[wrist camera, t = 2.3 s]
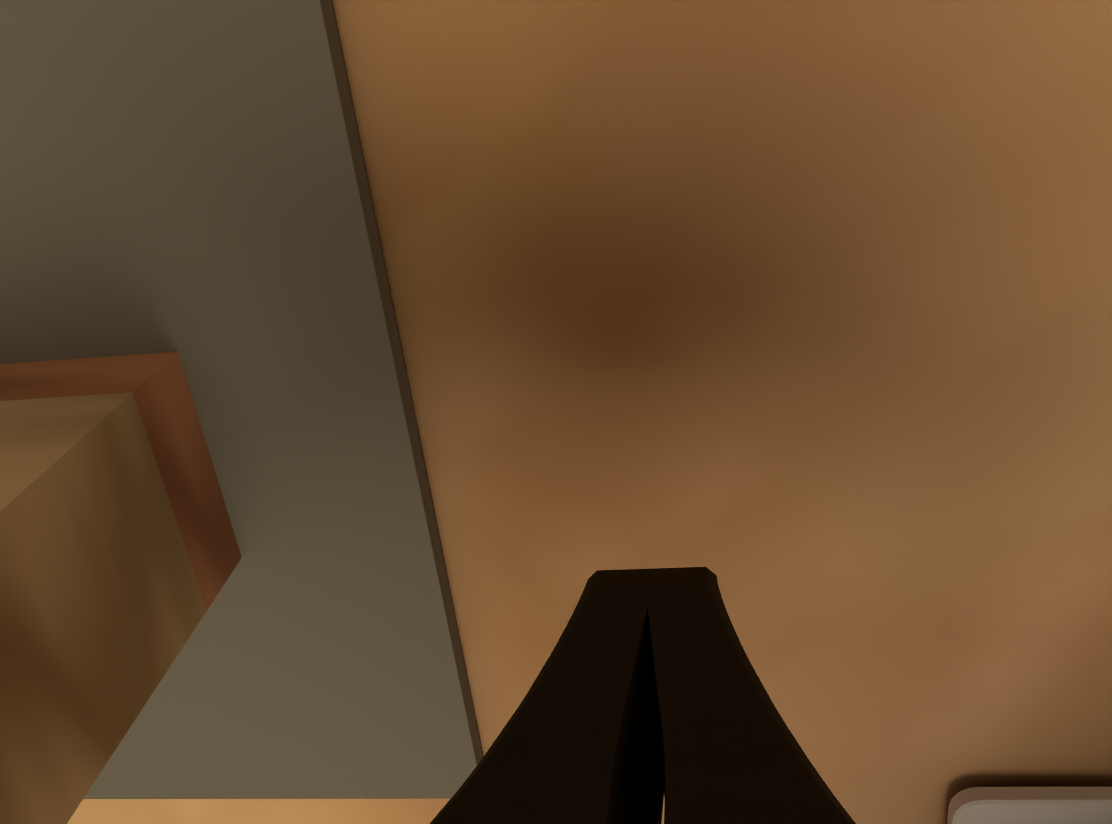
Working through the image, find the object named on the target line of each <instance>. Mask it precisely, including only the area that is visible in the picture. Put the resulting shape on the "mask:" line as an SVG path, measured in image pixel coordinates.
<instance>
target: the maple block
mask: <svg viewBox="0 0 1112 824" xmlns="http://www.w3.org/2000/svg"><path fill="white" fill-rule="evenodd" d="M241 558H242V556H241V553H240V550H239V547H238V544H237V540H236V537H235V534H234V531H233V527H232V524H231V521H230V518H229V515H228V511H227V508H226V505H225V502H224V498H223V495H222V492H221V489H220V486H219V482H218V479H217V476H216V473H215V470H214V466H213V463H212V460H211V457H210V453H209V450H208V447H207V444H206V441H205V437H204V434H203V431H202V428H201V424H200V421H199V418H198V415H197V412H196V408H195V405H194V402H193V399H192V395H191V392H190V389H189V386H188V383H187V379H186V376H185V373H184V370H183V366H182V363H181V360H180V357H179V354H178V352H167V353H153V354H138V355H124V356H110V357H96V358H82V359H67V360H53V361H39V362H25V363H10V364H0V824H67V823H68V821H69V819H70V818H71V816H72V815H73V813H74V812H75V810H76V809H77V807H78V806H79V804H80V803H81V801H82V800H83V798H84V797H85V795H86V794H87V792H88V791H89V789H90V788H91V786H92V785H93V783H94V781H95V780H96V778H97V777H98V775H99V774H100V772H101V771H102V769H103V768H104V766H105V765H106V763H107V762H108V760H109V759H110V757H111V756H112V754H113V753H114V751H115V750H116V748H117V747H118V745H119V744H120V742H121V740H122V739H123V737H124V736H125V734H126V733H127V731H128V730H129V728H130V727H131V725H132V724H133V722H134V721H135V719H136V718H137V716H138V715H139V713H140V712H141V710H142V709H143V707H144V706H145V704H146V703H147V701H148V699H149V698H150V696H151V695H152V693H153V692H154V690H155V689H156V687H157V686H158V684H159V683H160V681H161V680H162V678H163V677H164V675H165V674H166V672H167V671H168V669H169V668H170V666H171V665H172V663H173V662H174V660H175V658H176V657H177V655H178V654H179V652H180V651H181V649H182V648H183V646H184V645H185V643H186V642H187V640H188V639H189V637H190V636H191V634H192V633H193V631H194V630H195V628H196V627H197V625H198V624H199V622H200V621H201V619H202V617H203V616H204V614H205V613H206V611H207V610H208V608H209V607H210V605H211V604H212V602H213V601H214V599H215V598H216V596H217V595H218V593H219V592H220V590H221V589H222V587H223V586H224V584H225V583H226V581H227V580H228V578H229V576H230V575H231V573H232V572H233V570H234V569H235V567H236V566H237V564H238V563H239V561H240V560H241Z"/></svg>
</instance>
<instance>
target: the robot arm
mask: <svg viewBox="0 0 1112 824" xmlns="http://www.w3.org/2000/svg"><path fill="white" fill-rule="evenodd" d="M664 796H665V814H664V824H856V823H855V822H854V821H853V819H852V818H851V817H850V816H849V814H848V813H847V812H846V810H845V809H844V808H843V807H842V805H841V804H840V803H839V801H838V800H837V799H836V797H835V796H834V795H833V793H832V792H831V791H830V789H829V788H828V786H827V785H826V784H825V782H824V781H823V779H822V778H821V777H820V775H819V774H818V772H817V771H816V769H815V768H814V767H813V765H812V764H811V762H810V761H809V759H808V758H807V756H806V755H805V753H804V752H803V750H802V749H801V747H800V746H799V744H798V743H797V741H796V739H795V738H794V736H793V735H792V733H791V732H790V730H789V729H788V727H787V726H786V724H785V722H784V721H783V719H782V717H781V716H780V714H779V713H778V711H777V709H776V708H775V706H774V704H773V703H772V701H771V699H770V697H769V695H768V694H767V692H766V690H765V688H764V686H763V685H762V683H761V681H760V679H759V677H758V676H757V674H756V672H755V670H754V668H753V667H752V665H751V663H750V661H749V659H748V657H747V655H746V653H745V651H744V649H743V647H742V645H741V643H740V641H739V639H738V636H737V634H736V632H735V630H734V628H733V625H732V623H731V621H730V618H729V616H728V613H727V611H726V608H725V606H724V603H723V600H722V597H721V594H720V590H719V587H718V582H717V576H716V575H715V574H714V573H713V572H711V571H710V570H709V569H708V568H707V567H690V568H659V569H629V570H599V571H596V572H595V573H594V574H593V575H592V576H591V577H590V578H589V579H588V581H587V583H586V586H585V588H584V591H583V593H582V595H581V597H580V600H579V602H578V604H577V606H576V608H575V610H574V612H573V614H572V616H571V618H570V620H569V622H568V624H567V626H566V628H565V630H564V632H563V633H562V635H561V637H560V639H559V641H558V643H557V644H556V646H555V648H554V650H553V652H552V653H551V655H550V657H549V658H548V660H547V662H546V663H545V665H544V667H543V668H542V670H541V672H540V673H539V675H538V677H537V678H536V680H535V681H534V683H533V685H532V686H531V688H530V690H529V691H528V693H527V695H526V696H525V698H524V699H523V701H522V702H521V704H520V705H519V707H518V708H517V710H516V711H515V713H514V714H513V716H512V717H511V718H510V720H509V721H508V723H507V724H506V726H505V727H504V728H503V730H502V731H501V733H500V734H499V736H498V737H497V739H496V740H495V741H494V743H493V744H492V746H491V747H490V749H489V750H488V751H487V753H486V754H485V756H484V757H483V758H482V760H481V761H480V762H479V764H478V765H477V766H476V768H475V769H474V770H473V771H472V773H471V774H470V775H469V777H468V778H467V779H466V781H465V782H464V783H463V784H462V786H461V787H460V788H459V789H458V791H457V792H456V793H455V794H454V796H453V797H452V798H451V799H450V800H449V801H448V803H447V804H446V805H445V806H444V807H443V809H442V810H441V811H440V812H439V813H438V815H437V816H436V817H435V818H434V819H433V820H432V822H431V823H430V824H661V821H662V810H663V798H664ZM947 824H1112V787H973V788H967V789H964V790H962V791H960V792H958V793H957V794H956V795H955V796H954V797H953V798H952V799H951V801H950V803H949V806H948V818H947Z"/></svg>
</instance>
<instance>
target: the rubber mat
mask: <svg viewBox="0 0 1112 824" xmlns="http://www.w3.org/2000/svg"><path fill="white" fill-rule="evenodd" d="M167 352H178V354H179V357H180V360H181V363H182V366H183V370H184V373H185V376H186V379H187V383H188V386H189V389H190V392H191V395H192V399H193V402H194V405H195V408H196V412H197V415H198V418H199V421H200V424H201V428H202V431H203V434H204V437H205V441H206V444H207V447H208V450H209V453H210V457H211V460H212V463H213V466H214V470H215V473H216V476H217V479H218V482H219V486H220V489H221V492H222V495H223V498H224V502H225V505H226V508H227V511H228V515H229V518H230V521H231V524H232V527H233V531H234V534H235V537H236V540H237V544H238V547H239V550H240V553H241V556H242V558H241V560H240V561H239V563H238V564H237V566H236V567H235V569H234V570H233V572H232V573H231V575H230V576H229V578H228V580H227V581H226V583H225V584H224V586H223V587H222V589H221V590H220V592H219V593H218V595H217V596H216V598H215V599H214V601H213V602H212V604H211V605H210V607H209V608H208V610H207V611H206V613H205V614H204V616H203V617H202V619H201V621H200V622H199V624H198V625H197V627H196V628H195V630H194V631H193V633H192V634H191V636H190V637H189V639H188V640H187V642H186V643H185V645H184V646H183V648H182V649H181V651H180V652H179V654H178V655H177V657H176V658H175V660H174V662H173V663H172V665H171V666H170V668H169V669H168V671H167V672H166V674H165V675H164V677H163V678H162V680H161V681H160V683H159V684H158V686H157V687H156V689H155V690H154V692H153V693H152V695H151V696H150V698H149V699H148V701H147V703H146V704H145V706H144V707H143V709H142V710H141V712H140V713H139V715H138V716H137V718H136V719H135V721H134V722H133V724H132V725H131V727H130V728H129V730H128V731H127V733H126V734H125V736H124V737H123V739H122V740H121V742H120V744H119V745H118V747H117V748H116V750H115V751H114V753H113V754H112V756H111V757H110V759H109V760H108V762H107V763H106V765H105V766H104V768H103V769H102V771H101V772H100V774H99V775H98V777H97V778H96V780H95V781H94V783H93V785H92V786H91V788H90V789H89V791H88V792H87V794H86V795H85V797H84V798H83V799H403V798H452V797H453V796H454V794H455V793H456V792H457V791H458V789H459V788H460V787H461V786H462V784H463V783H464V782H465V781H466V779H467V778H468V777H469V775H470V774H471V773H472V771H473V770H474V769H475V768H476V766H477V765H478V764H479V762H480V761H481V760H482V758H483V753H482V748H481V744H480V739H479V734H478V729H477V724H476V719H475V714H474V709H473V704H472V699H471V694H470V689H469V684H468V679H467V674H466V669H465V664H464V659H463V654H462V649H461V644H460V639H459V634H458V629H457V624H456V619H455V614H454V609H453V604H452V599H451V594H450V589H449V584H448V579H447V574H446V569H445V564H444V559H443V554H442V549H441V544H440V539H439V534H438V529H437V524H436V519H435V514H434V509H433V504H432V499H431V494H430V489H429V484H428V479H427V474H426V469H425V464H424V459H423V454H422V449H421V444H420V439H419V434H418V429H417V424H416V419H415V414H414V409H413V404H412V399H411V394H410V389H409V384H408V379H407V374H406V369H405V364H404V359H403V354H402V349H401V344H400V339H399V334H398V329H397V324H396V319H395V314H394V309H393V304H392V299H391V294H390V289H389V284H388V279H387V274H386V269H385V264H384V259H383V254H382V249H381V244H380V239H379V234H378V229H377V224H376V219H375V214H374V209H373V204H372V199H371V195H370V190H369V185H368V180H367V175H366V170H365V165H364V160H363V155H362V150H361V145H360V140H359V135H358V130H357V125H356V120H355V115H354V110H353V105H352V100H351V95H350V90H349V85H348V80H347V75H346V70H345V65H344V60H343V55H342V50H341V45H340V40H339V35H338V30H337V25H336V20H335V15H334V10H333V5H332V0H0V364H10V363H25V362H39V361H53V360H67V359H82V358H96V357H110V356H124V355H138V354H153V353H167Z"/></svg>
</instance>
